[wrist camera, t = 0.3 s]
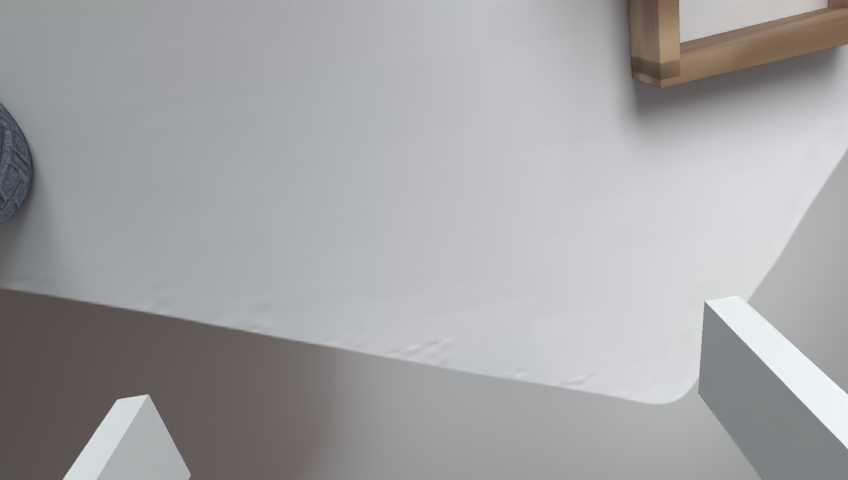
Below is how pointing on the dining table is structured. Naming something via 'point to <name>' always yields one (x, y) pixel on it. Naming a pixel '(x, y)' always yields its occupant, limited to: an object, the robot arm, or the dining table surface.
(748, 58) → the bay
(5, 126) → the vase
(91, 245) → the dining table surface
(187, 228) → the dining table surface
